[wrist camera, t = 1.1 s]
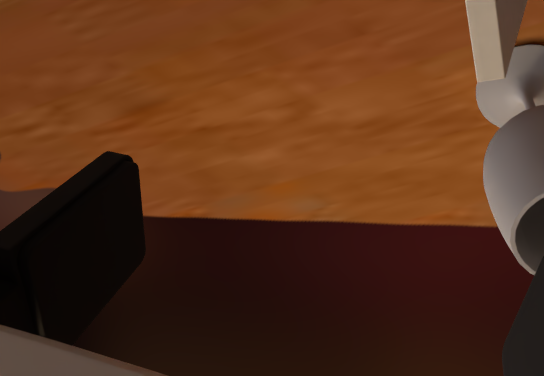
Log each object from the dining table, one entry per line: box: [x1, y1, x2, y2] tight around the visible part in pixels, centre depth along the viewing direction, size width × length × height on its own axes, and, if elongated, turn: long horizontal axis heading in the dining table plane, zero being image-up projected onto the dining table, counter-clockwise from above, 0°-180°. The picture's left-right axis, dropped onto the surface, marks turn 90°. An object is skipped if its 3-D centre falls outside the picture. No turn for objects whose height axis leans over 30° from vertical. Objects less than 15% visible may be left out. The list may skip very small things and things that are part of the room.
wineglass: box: [476, 44, 544, 275], centre depth 32 cm, size 8×8×21 cm
